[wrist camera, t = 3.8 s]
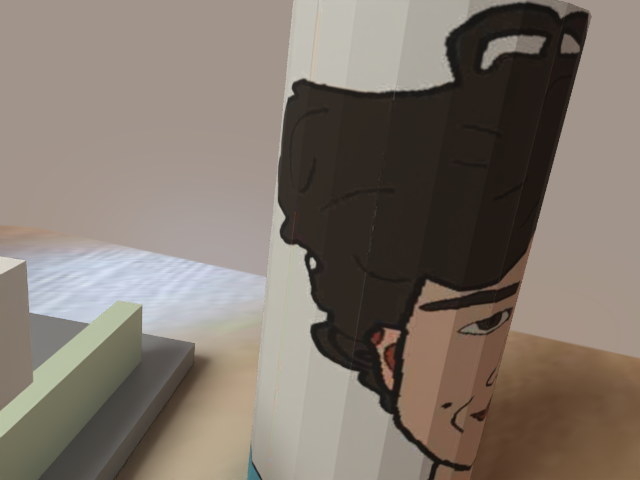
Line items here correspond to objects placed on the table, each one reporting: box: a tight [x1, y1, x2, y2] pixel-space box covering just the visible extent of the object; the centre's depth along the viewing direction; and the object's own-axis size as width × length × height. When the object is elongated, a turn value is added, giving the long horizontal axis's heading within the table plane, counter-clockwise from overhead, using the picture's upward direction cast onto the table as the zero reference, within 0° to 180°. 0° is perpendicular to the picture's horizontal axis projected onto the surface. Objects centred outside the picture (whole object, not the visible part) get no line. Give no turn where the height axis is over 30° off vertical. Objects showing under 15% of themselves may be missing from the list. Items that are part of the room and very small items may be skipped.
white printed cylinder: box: [247, 0, 591, 480], centre depth 15 cm, size 7×7×15 cm
